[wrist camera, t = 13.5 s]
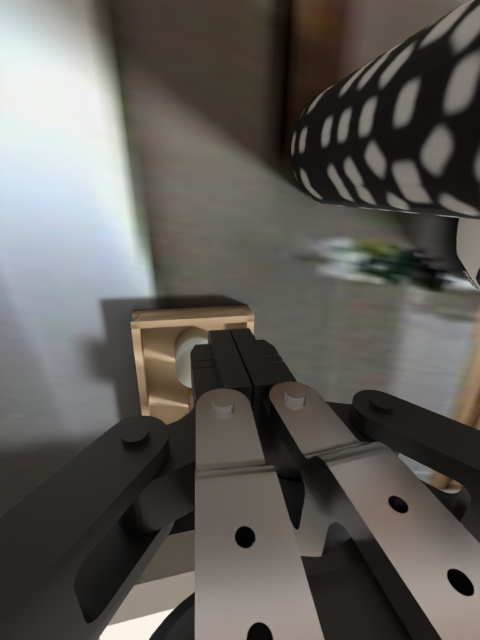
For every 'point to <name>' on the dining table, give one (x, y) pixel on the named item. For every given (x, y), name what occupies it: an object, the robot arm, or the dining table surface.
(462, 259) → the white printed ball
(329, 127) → the white-spotted black cylinder
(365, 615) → the robot arm
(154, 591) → the white open block
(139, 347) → the tray
